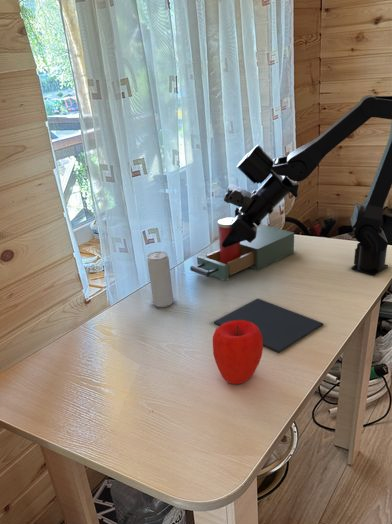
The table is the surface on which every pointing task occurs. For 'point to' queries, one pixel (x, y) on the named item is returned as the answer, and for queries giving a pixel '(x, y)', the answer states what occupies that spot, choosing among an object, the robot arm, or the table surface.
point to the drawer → (221, 270)
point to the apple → (237, 350)
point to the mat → (273, 323)
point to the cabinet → (269, 245)
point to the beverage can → (160, 278)
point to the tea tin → (224, 229)
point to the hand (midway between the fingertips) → (224, 242)
